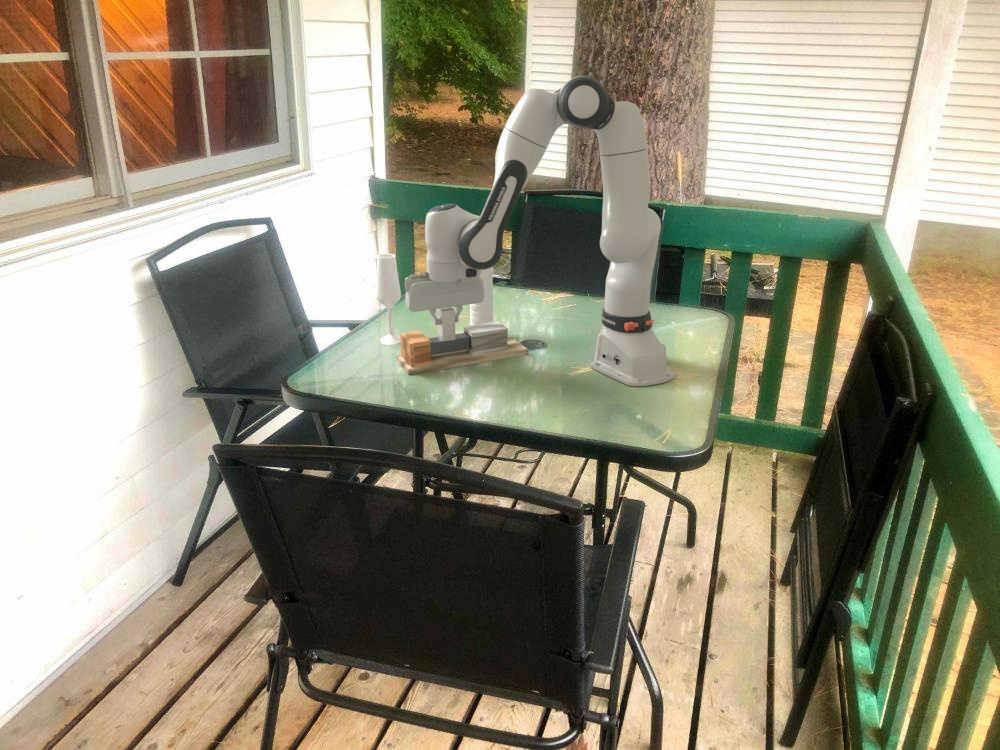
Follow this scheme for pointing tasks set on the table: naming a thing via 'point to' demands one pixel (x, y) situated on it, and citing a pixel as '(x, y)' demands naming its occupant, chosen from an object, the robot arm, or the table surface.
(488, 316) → the water bottle
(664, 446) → the table surface
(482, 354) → the base
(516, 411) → the table surface
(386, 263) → the champagne flute
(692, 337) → the table surface
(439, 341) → the slider with upright handle
